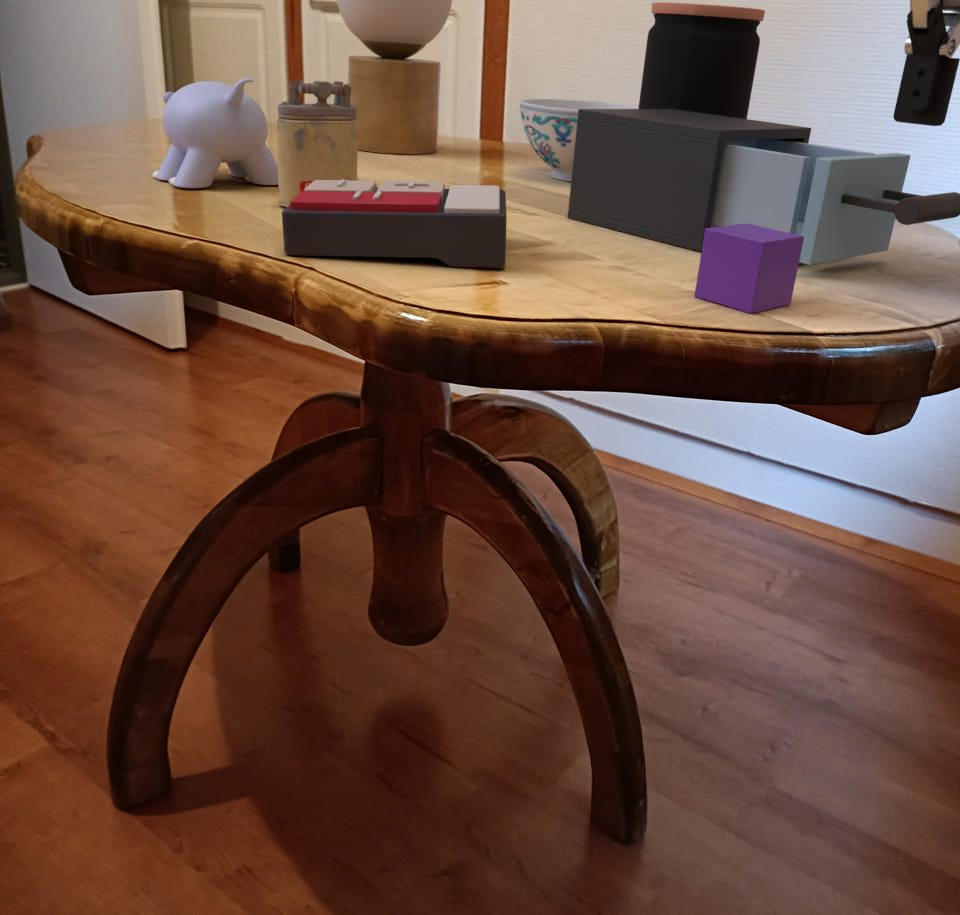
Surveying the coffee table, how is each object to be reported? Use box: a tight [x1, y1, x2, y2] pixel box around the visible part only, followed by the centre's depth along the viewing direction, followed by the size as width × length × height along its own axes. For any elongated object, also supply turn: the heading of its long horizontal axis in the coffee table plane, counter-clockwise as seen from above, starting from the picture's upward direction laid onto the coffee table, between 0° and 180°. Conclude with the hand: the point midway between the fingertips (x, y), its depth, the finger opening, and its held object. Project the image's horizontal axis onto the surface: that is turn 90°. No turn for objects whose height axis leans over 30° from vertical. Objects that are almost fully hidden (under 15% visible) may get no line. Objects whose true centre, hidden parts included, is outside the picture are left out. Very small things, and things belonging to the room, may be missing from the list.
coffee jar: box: [638, 1, 766, 119], centre depth 95 cm, size 11×11×18 cm
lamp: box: [336, 0, 453, 155], centre depth 118 cm, size 15×14×25 cm
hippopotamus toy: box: [152, 77, 278, 189], centre depth 89 cm, size 11×15×10 cm
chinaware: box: [519, 98, 639, 182], centre depth 106 cm, size 15×15×8 cm
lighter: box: [276, 80, 358, 208], centre depth 80 cm, size 7×4×10 cm, turn 125°
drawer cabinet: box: [567, 109, 812, 253], centre depth 82 cm, size 15×13×9 cm
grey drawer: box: [710, 139, 960, 266], centre depth 73 cm, size 19×11×7 cm, turn 41°
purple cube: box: [694, 223, 804, 314], centre depth 61 cm, size 4×4×4 cm
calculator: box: [281, 180, 508, 269], centre depth 69 cm, size 11×4×15 cm
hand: (952, 121), depth 65 cm, fingers open, 9 cm apart
